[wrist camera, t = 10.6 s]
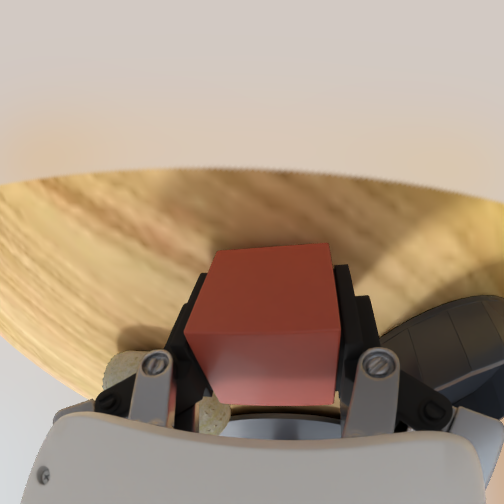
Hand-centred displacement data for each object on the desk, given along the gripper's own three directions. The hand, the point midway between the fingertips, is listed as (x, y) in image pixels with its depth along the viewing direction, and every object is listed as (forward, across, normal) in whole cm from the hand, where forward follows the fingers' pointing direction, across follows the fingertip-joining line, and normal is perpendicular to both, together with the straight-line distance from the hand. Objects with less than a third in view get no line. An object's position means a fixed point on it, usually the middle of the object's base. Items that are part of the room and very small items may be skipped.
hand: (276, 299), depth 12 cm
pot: (+1, -10, +10) cm, 14 cm away
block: (+1, 0, 0) cm, 1 cm away
